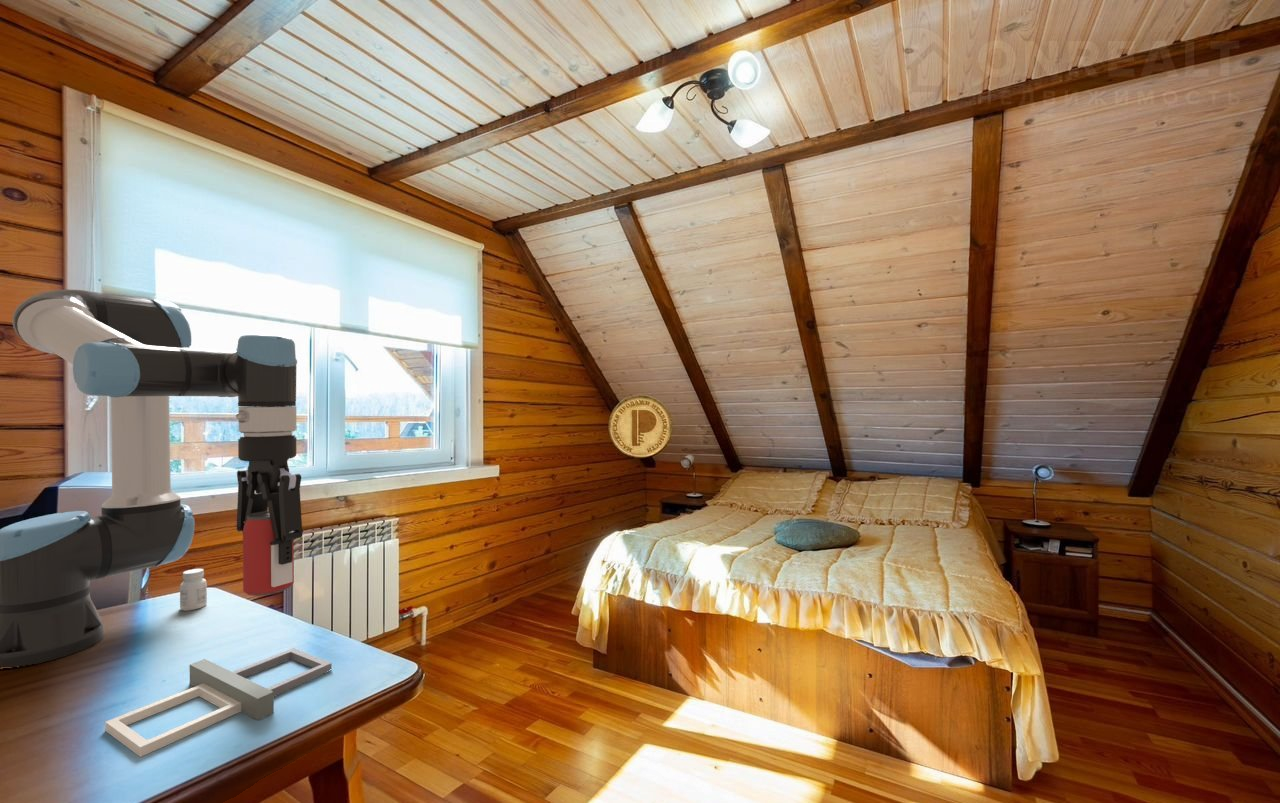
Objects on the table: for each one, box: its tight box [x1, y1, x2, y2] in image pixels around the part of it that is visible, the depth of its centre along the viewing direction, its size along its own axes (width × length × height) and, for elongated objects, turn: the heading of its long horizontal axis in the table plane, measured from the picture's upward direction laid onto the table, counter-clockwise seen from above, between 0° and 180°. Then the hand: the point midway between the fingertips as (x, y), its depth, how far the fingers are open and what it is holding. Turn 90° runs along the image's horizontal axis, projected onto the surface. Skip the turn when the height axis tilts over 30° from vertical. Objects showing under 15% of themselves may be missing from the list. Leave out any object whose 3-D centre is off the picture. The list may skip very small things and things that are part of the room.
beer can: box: [242, 510, 295, 597], centre depth 84 cm, size 7×7×12 cm
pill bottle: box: [179, 568, 208, 612], centre depth 114 cm, size 4×4×8 cm
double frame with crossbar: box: [104, 647, 333, 758], centre depth 80 cm, size 20×24×3 cm
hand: (268, 580), depth 84 cm, fingers closed on beer can, 7 cm apart
